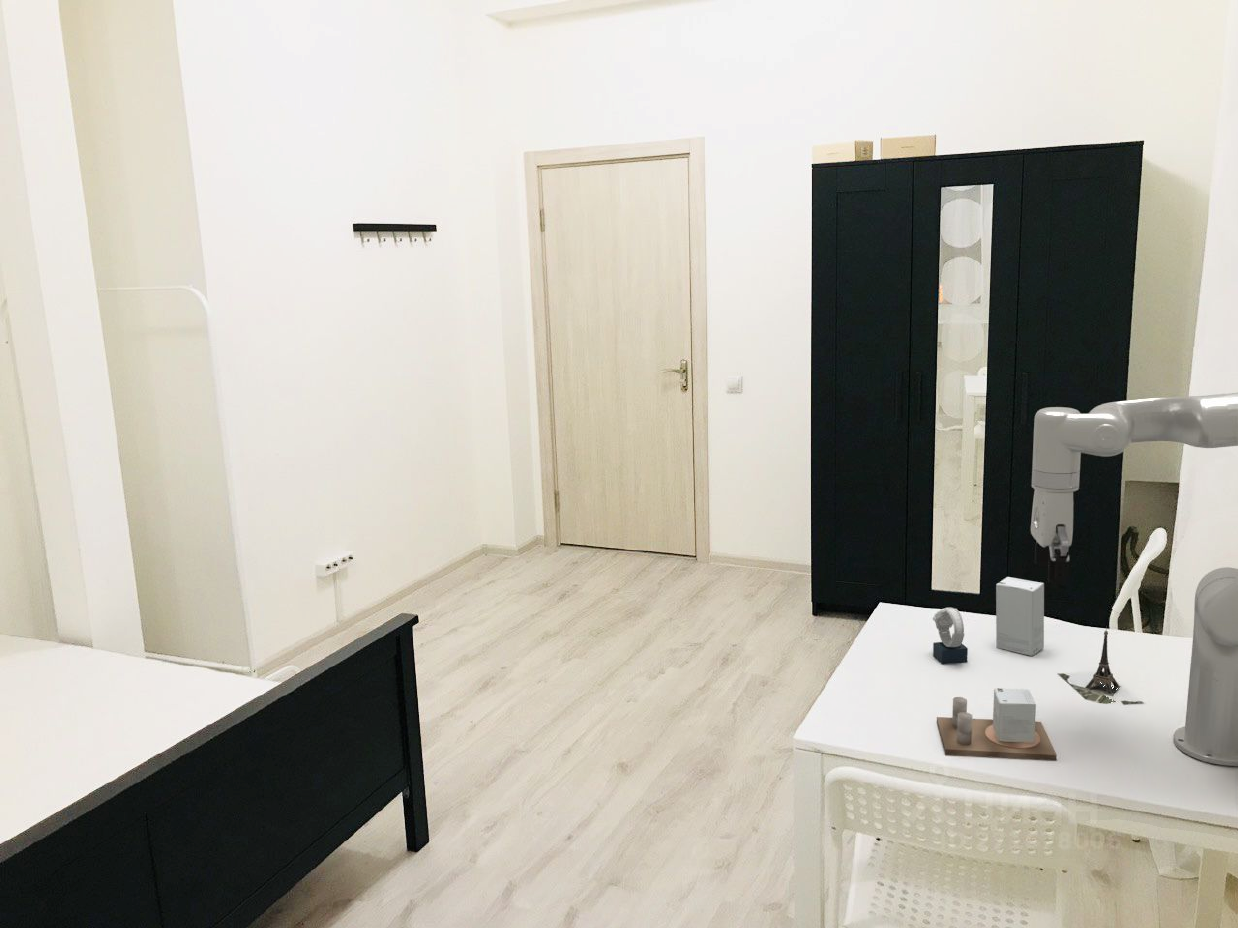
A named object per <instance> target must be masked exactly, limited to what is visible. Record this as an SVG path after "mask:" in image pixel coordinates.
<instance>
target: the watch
mask: <svg viewBox="0 0 1238 928" xmlns="http://www.w3.org/2000/svg"><path fill="white" fill-rule="evenodd" d="M932 621H934V622H935V627H936V629H937V630H938V635H939V638H940V641H936V642H933V645H932V646H933V647H932V648H933V650H932V651H933V652H932V656H933V658H934V659H935V660H936V661H938V663H940V664H941V665H953V664H962V663H964V664H965V663H968V657H969V656H968V650H969V648H968V647H967V646H965V645H964V643H963V642H964V637H965V625H964V619H963V617H962V614H961V612H960V611H959V610H958V609H957V608H954V607H945V608H942V609H940V610H938V611H937V612H936V613H934V615H933V617H932ZM952 627H953V633H951V631H950V628H952ZM951 634H952V635H951Z"/></svg>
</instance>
